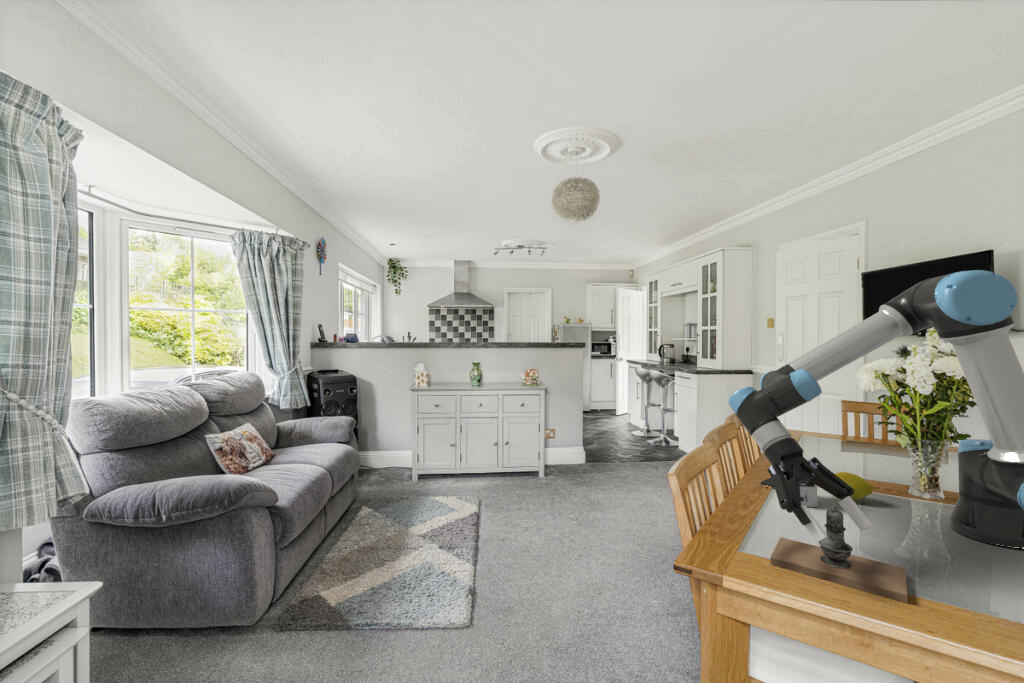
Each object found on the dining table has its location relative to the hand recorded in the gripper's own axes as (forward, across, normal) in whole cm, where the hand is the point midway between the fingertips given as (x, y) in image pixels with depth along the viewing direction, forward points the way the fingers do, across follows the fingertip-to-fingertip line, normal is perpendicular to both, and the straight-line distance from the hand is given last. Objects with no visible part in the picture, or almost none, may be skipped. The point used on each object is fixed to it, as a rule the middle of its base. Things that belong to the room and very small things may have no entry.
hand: (845, 534), depth 89 cm
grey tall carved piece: (+4, 0, -7) cm, 7 cm away
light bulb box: (-17, -29, -29) cm, 44 cm away
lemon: (-12, -42, -25) cm, 51 cm away
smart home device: (-25, -40, -38) cm, 60 cm away
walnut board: (+4, 0, -7) cm, 9 cm away
